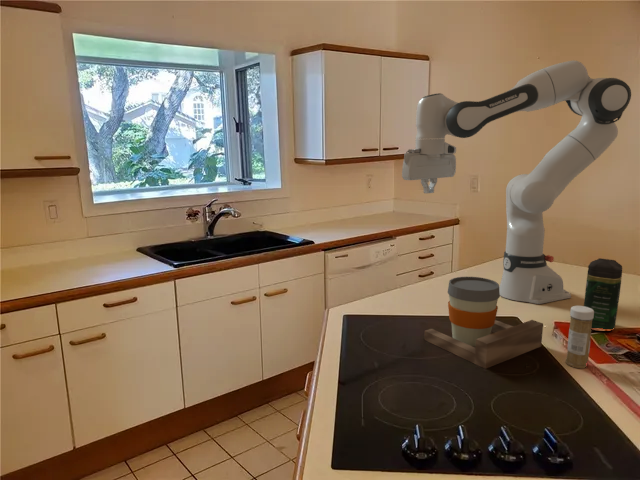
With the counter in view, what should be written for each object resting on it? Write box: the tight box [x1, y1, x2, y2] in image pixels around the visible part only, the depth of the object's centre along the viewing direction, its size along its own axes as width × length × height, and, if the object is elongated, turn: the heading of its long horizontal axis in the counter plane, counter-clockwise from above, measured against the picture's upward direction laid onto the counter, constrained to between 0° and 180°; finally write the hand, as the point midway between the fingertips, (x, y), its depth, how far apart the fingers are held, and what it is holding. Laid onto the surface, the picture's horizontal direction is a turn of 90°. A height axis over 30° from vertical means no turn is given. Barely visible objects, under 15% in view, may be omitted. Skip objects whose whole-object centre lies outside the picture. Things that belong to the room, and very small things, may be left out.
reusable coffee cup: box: [447, 276, 500, 348], centre depth 120 cm, size 13×13×15 cm
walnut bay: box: [423, 319, 544, 370], centre depth 119 cm, size 19×21×6 cm
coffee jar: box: [583, 257, 623, 329], centre depth 127 cm, size 10×8×19 cm
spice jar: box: [565, 305, 594, 369], centre depth 106 cm, size 5×5×14 cm
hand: (428, 193), depth 149 cm, fingers closed
